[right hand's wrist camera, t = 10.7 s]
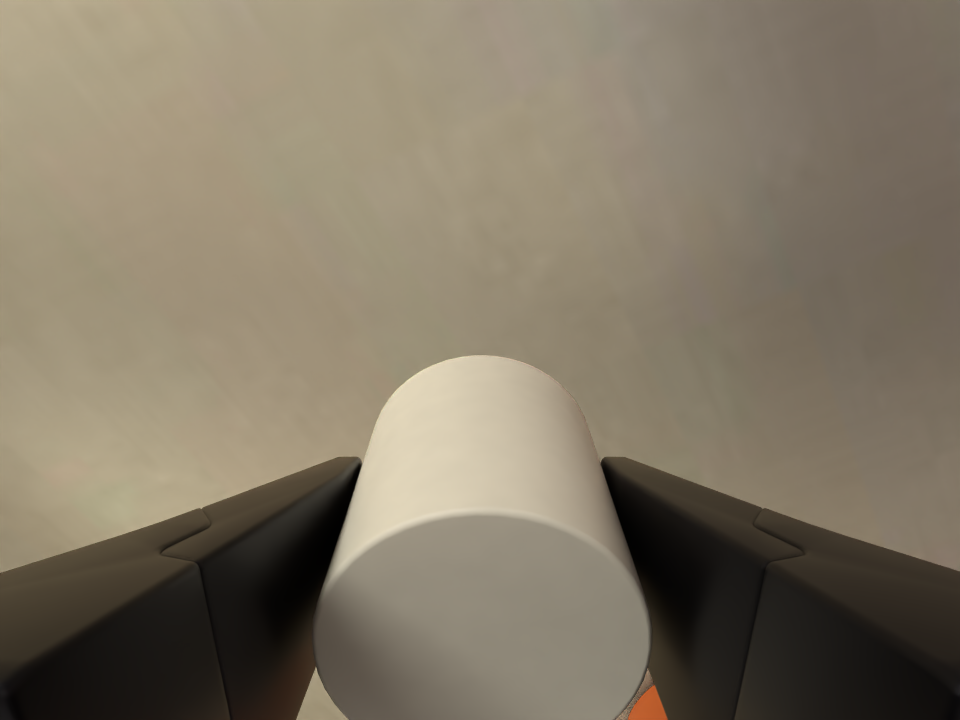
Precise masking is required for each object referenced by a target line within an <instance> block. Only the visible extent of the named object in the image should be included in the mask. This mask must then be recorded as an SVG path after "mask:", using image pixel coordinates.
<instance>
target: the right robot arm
mask: <svg viewBox="0 0 960 720" xmlns="http://www.w3.org/2000/svg"><path fill="white" fill-rule="evenodd" d="M361 467H362V461H361V459H360V458H358V457H337V458H334V459H332V460H329V461H326V462H324V463H321V464H318V465H316V466H313V467H310V468H308V469H305V470H302V471H300V472H297V473H294V474H291V475H289V476H286V477H283V478H281V479H278V480H275V481H273V482H270V483H267V484H265V485H262V486H259V487H257V488H254V489H251V490H249V491H246V492H243V493H240V494H238V495H235V496H232V497H230V498H227V499H224V500H222V501H219V502H216V503H214V504H211V505H208V506H206V507H203V508H202V509H200V508H198V509H195V510H192V511H190V512H187V513H184V514H182V515H179V516H176V517H173V518H170V519H168V520H165V521H162V522H159V523H156V524H153V525H150V526H147V527H144V528H141V529H138V530H135V531H132V532H129V533H126V534H123V535H120V536H117V537H114V538H110V539H107V540H104V541H101V542H98V543H95V544H91V545H88V546H85V547H82V548H79V549H76V550H72V551H69V552H66V553H63V554H60V555H57V556H53V557H50V558H47V559H44V560H41V561H37V562H34V563H31V564H28V565H25V566H22V567H18V568H15V569H12V570H9V571H6V572H3V573H0V720H296V718H297V715H298V713H299V710H300V707H301V705H302V702H303V699H304V697H305V694H306V691H307V689H308V686H309V683H310V681H311V678H312V675H313V673H314V670H315V667H316V663H315V660H314V655H313V647H312V624H313V617H314V613H315V609H316V605H317V602H318V599H319V596H320V593H321V589H322V586H323V583H324V580H325V577H326V574H327V571H328V568H329V565H330V562H331V559H332V556H333V553H334V550H335V547H336V544H337V541H338V538H339V534H340V531H341V528H342V525H343V522H344V519H345V516H346V513H347V510H348V507H349V504H350V501H351V498H352V495H353V492H354V489H355V486H356V483H357V479H358V476H359V473H360V470H361ZM601 467H602V470H603V473H604V476H605V479H606V482H607V485H608V488H609V491H610V494H611V497H612V500H613V503H614V506H615V509H616V512H617V515H618V518H619V521H620V524H621V527H622V530H623V532H624V535H625V538H626V541H627V544H628V547H629V550H630V553H631V556H632V559H633V562H634V565H635V568H636V571H637V574H638V577H639V580H640V583H641V586H642V589H643V592H644V595H645V598H646V601H647V604H648V607H649V610H650V615H651V621H652V632H653V644H652V650H651V656H650V661H649V665H648V669H649V672H650V674H651V677H652V679H653V682H654V685H655V687H656V690H657V693H658V695H659V698H660V701H661V703H662V706H663V708H664V711H665V714H666V716H667V719H668V720H960V571H957V570H953V569H950V568H947V567H944V566H941V565H937V564H934V563H931V562H928V561H925V560H921V559H918V558H915V557H912V556H909V555H905V554H902V553H899V552H896V551H893V550H889V549H886V548H883V547H880V546H877V545H873V544H870V543H867V542H864V541H861V540H857V539H854V538H851V537H848V536H845V535H842V534H839V533H835V532H832V531H829V530H826V529H823V528H820V527H817V526H814V525H811V524H808V523H805V522H802V521H800V520H797V519H794V518H791V517H788V516H785V515H782V514H780V513H777V512H774V511H772V510H769V509H766V508H764V509H762V508H761V507H758V506H756V505H753V504H750V503H748V502H745V501H742V500H739V499H737V498H734V497H731V496H729V495H726V494H723V493H720V492H718V491H715V490H712V489H710V488H707V487H704V486H702V485H699V484H696V483H693V482H691V481H688V480H685V479H683V478H680V477H677V476H674V475H672V474H669V473H666V472H664V471H661V470H658V469H655V468H653V467H650V466H647V465H645V464H642V463H639V462H637V461H634V460H631V459H628V458H626V457H604V458H603V459H602V461H601Z"/></svg>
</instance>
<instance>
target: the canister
mask: <svg viewBox="0 0 960 720" xmlns="http://www.w3.org/2000/svg"><path fill="white" fill-rule="evenodd" d="M652 644H653V632H652V621H651V615H650V610H649V607H648V604H647V601H646V598H645V595H644V592H643V589H642V586H641V583H640V580H639V577H638V574H637V571H636V568H635V565H634V562H633V559H632V556H631V553H630V550H629V547H628V544H627V541H626V538H625V535H624V532H623V530H622V527H621V524H620V521H619V518H618V515H617V512H616V509H615V506H614V503H613V500H612V497H611V494H610V491H609V488H608V485H607V482H606V479H605V476H604V473H603V470H602V467H601V464H600V461H599V458H598V455H597V452H596V449H595V446H594V443H593V440H592V437H591V435H590V432H589V429H588V426H587V423H586V420H585V417H584V415H583V413H582V412H581V410H580V408H579V406H578V404H577V403H576V402H575V400H574V399H573V397H572V396H571V395H570V394H569V392H568V391H567V390H566V389H565V388H564V387H563V386H562V385H561V384H560V383H558V382H557V381H556V380H554V379H553V378H552V377H551V376H549V375H548V374H546V373H544V372H543V371H541V370H539V369H537V368H535V367H533V366H531V365H528V364H526V363H524V362H521V361H517V360H513V359H510V358H505V357H499V356H489V355H474V356H463V357H458V358H453V359H449V360H445V361H443V362H440V363H437V364H434V365H432V366H430V367H428V368H426V369H424V370H422V371H420V372H418V373H417V374H415V375H414V376H413V377H411V378H410V379H408V380H407V381H406V382H405V383H404V384H402V385H401V386H400V387H399V388H398V389H397V390H396V391H395V392H394V394H393V395H392V396H391V397H390V398H389V400H388V401H387V403H386V404H385V406H384V407H383V409H382V411H381V413H380V415H379V417H378V420H377V422H376V424H375V427H374V431H373V434H372V437H371V440H370V443H369V446H368V449H367V452H366V455H365V458H364V461H363V464H362V467H361V470H360V473H359V476H358V479H357V483H356V486H355V489H354V492H353V495H352V498H351V501H350V504H349V507H348V510H347V513H346V516H345V519H344V522H343V525H342V528H341V531H340V534H339V538H338V541H337V544H336V547H335V550H334V553H333V556H332V559H331V562H330V565H329V568H328V571H327V574H326V577H325V580H324V583H323V586H322V589H321V593H320V596H319V599H318V602H317V605H316V609H315V613H314V617H313V624H312V647H313V655H314V660H315V663H316V667H317V671H318V674H319V676H320V679H321V681H322V683H323V685H324V688H325V690H326V691H327V693H328V694H329V696H330V697H331V699H332V700H333V702H334V704H335V705H336V706H337V707H338V708H339V709H340V711H341V712H342V713H343V714H344V715H345V716H346V717H347V718H348V719H349V720H615V719H616V718H617V717H618V716H619V715H620V714H621V713H622V712H623V711H624V710H625V709H626V707H627V706H628V705H629V703H630V702H631V701H632V699H633V698H634V697H635V695H636V693H637V691H638V689H639V688H640V686H641V684H642V682H643V680H644V677H645V674H646V671H647V668H648V665H649V661H650V656H651V650H652Z"/></svg>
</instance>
